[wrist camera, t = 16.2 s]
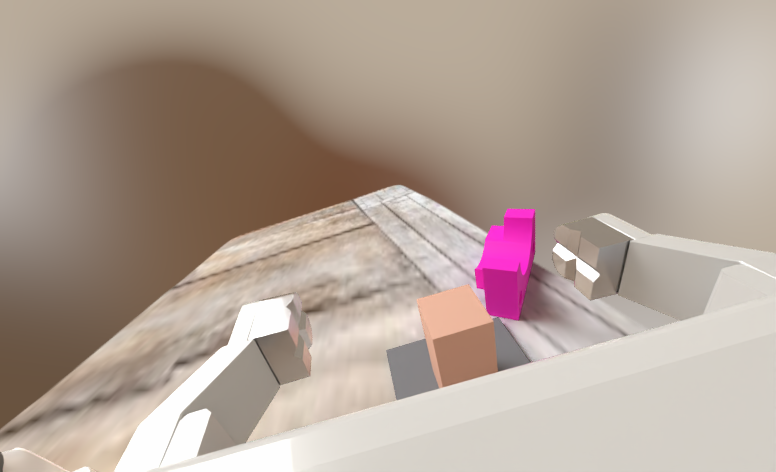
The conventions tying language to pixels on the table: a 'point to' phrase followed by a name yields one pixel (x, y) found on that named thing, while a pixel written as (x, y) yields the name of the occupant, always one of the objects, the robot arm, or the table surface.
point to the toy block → (507, 263)
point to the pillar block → (458, 336)
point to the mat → (416, 368)
